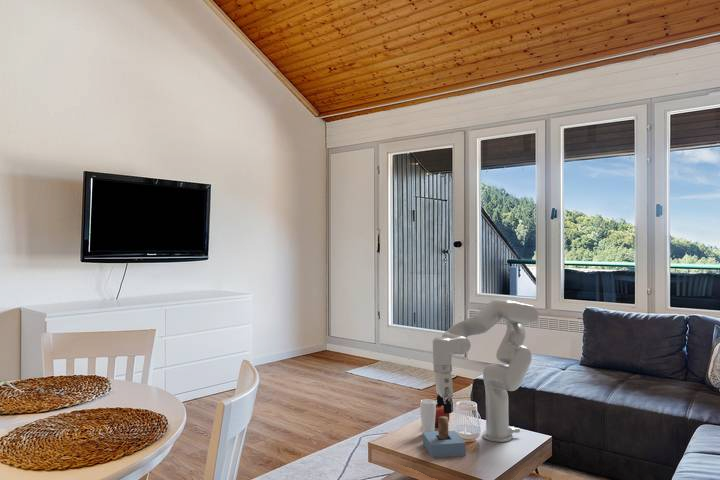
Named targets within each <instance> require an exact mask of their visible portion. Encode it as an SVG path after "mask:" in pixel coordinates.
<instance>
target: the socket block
mask: <svg viewBox="0 0 720 480" xmlns="http://www.w3.org/2000/svg"><path fill="white" fill-rule="evenodd" d="M448 439H449V440H439V431H434V432H423V434H422V445H423V447H424V448H425V450H426V451H427V453H428V455H429V456H430V457H431V458H443V457H462V456H463V457H464V456H466V454H467V451H466V449H467V446H466V445H467V444H466V442H465V440H464V439H463V438H462V437H461V436H460V435H459V433H458V432H457V431H456V430H448Z"/></svg>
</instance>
